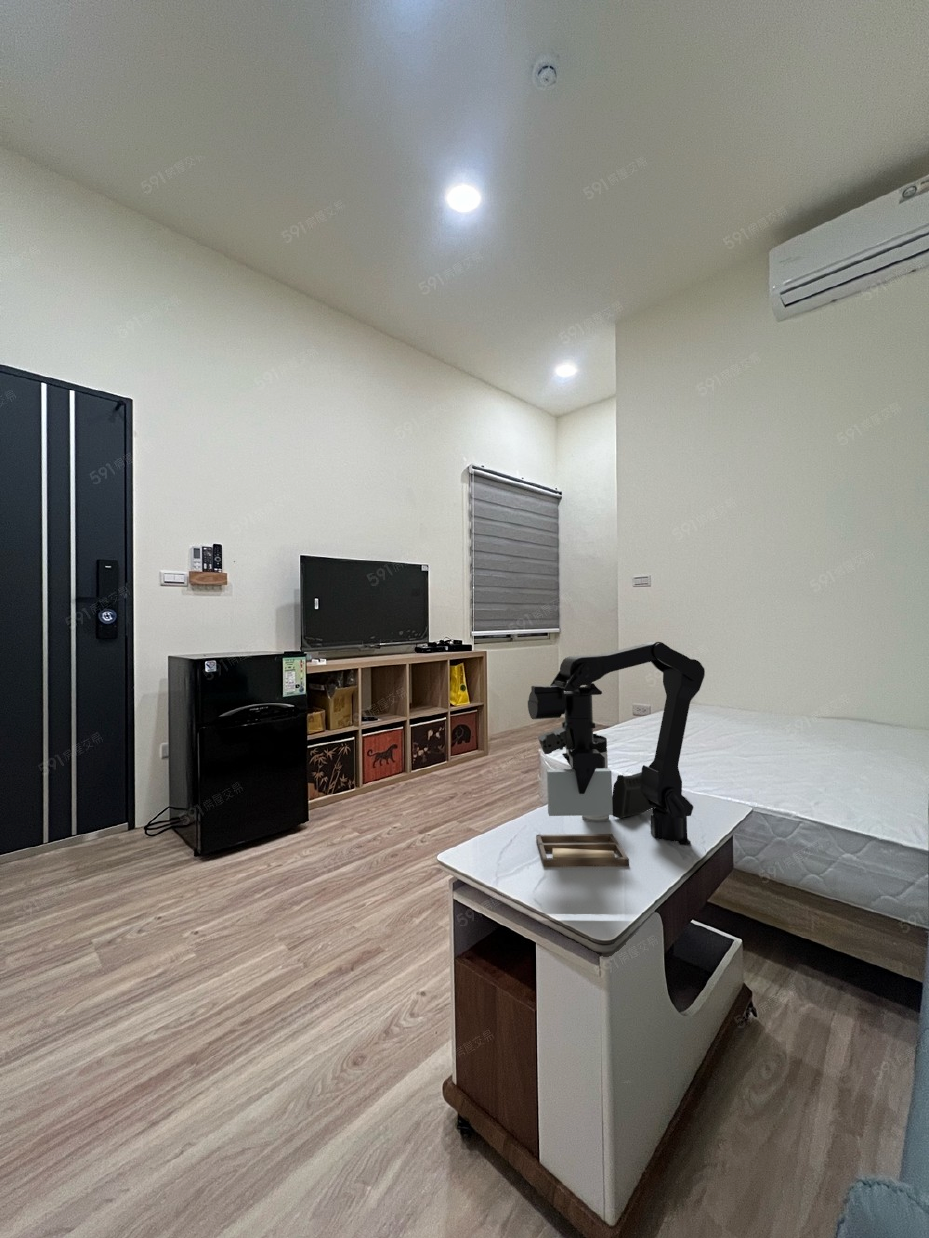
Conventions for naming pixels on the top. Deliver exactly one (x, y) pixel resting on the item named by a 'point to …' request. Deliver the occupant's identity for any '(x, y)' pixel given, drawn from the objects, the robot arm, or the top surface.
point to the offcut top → (581, 853)
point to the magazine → (628, 796)
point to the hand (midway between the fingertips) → (580, 791)
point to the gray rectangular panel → (572, 803)
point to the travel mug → (602, 749)
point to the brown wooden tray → (581, 862)
